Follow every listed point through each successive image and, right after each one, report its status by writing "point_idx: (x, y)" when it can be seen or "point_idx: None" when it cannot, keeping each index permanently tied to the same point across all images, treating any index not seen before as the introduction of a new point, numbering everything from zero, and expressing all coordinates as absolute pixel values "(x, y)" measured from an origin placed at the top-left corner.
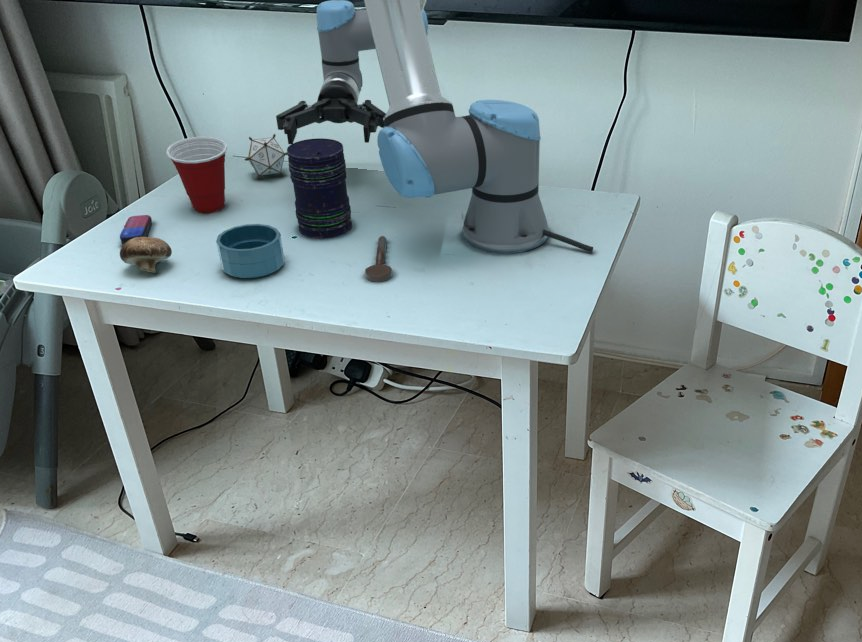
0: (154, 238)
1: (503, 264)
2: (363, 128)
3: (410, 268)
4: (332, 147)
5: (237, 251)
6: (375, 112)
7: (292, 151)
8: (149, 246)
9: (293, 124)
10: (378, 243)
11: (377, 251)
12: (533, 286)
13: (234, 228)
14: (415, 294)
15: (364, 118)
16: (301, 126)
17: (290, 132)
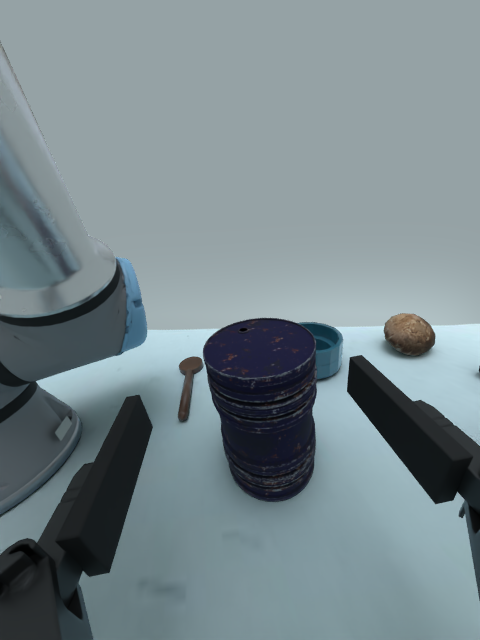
0: (402, 324)
1: (73, 397)
2: (139, 396)
3: (162, 380)
4: (224, 350)
5: (303, 322)
6: (1, 559)
7: (295, 330)
8: (391, 318)
9: (392, 406)
10: (187, 399)
11: (189, 385)
12: (73, 372)
13: (336, 343)
14: (166, 353)
15: (75, 638)
16: (476, 574)
17: (350, 365)
